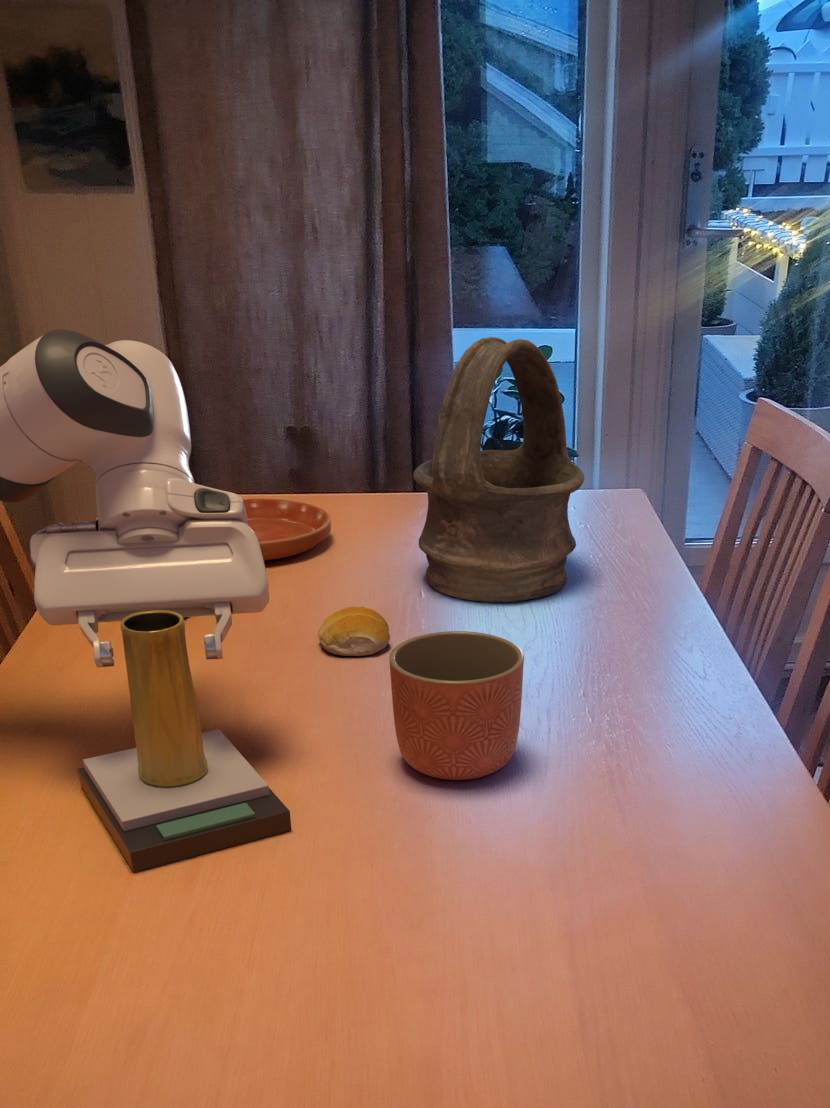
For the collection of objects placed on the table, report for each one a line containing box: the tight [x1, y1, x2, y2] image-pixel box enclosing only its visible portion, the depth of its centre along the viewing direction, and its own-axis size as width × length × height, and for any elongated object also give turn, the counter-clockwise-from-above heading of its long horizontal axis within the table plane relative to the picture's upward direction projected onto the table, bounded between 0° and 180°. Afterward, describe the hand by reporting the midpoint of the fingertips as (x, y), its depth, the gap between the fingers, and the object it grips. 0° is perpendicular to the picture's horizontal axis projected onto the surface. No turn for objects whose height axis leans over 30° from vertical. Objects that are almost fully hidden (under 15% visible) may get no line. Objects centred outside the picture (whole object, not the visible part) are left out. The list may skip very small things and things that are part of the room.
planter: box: [388, 630, 525, 781], centre depth 116 cm, size 12×12×11 cm
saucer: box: [242, 497, 332, 562], centre depth 175 cm, size 23×23×4 cm
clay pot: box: [413, 336, 586, 603], centre depth 156 cm, size 22×23×30 cm
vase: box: [120, 610, 208, 787], centre depth 106 cm, size 6×6×14 cm
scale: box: [77, 729, 292, 873], centre depth 110 cm, size 14×17×3 cm
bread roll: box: [317, 606, 391, 657], centre depth 143 cm, size 8×9×4 cm
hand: (159, 660), depth 108 cm, fingers open, 8 cm apart
